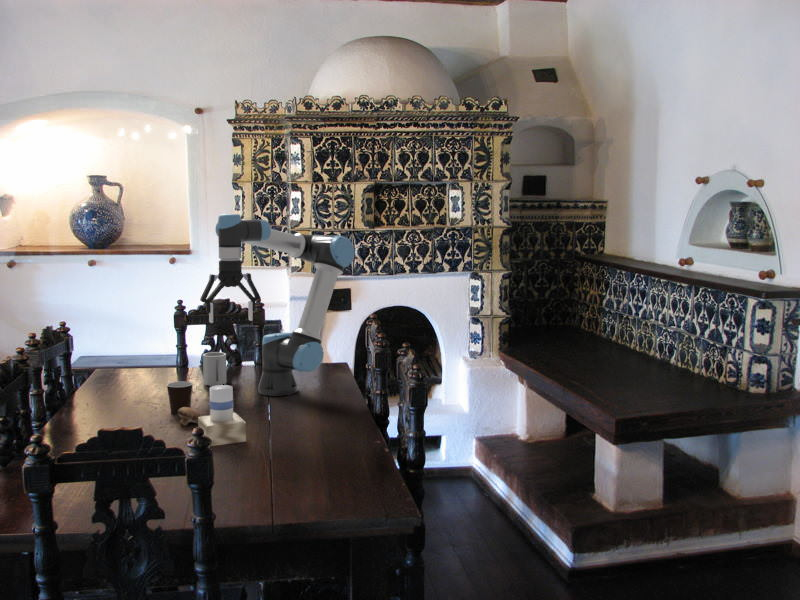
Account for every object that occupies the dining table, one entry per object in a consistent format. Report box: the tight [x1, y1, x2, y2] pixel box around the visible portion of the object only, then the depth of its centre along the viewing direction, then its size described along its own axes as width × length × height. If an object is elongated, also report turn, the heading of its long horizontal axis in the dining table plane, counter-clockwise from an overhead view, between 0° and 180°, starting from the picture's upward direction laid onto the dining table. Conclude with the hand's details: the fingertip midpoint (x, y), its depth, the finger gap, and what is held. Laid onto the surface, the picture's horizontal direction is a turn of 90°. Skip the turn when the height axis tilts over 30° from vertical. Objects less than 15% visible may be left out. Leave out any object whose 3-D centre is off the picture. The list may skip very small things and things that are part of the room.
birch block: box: [197, 412, 247, 447], centre depth 234 cm, size 12×12×6 cm
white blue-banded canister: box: [209, 384, 234, 422], centre depth 233 cm, size 7×7×10 cm
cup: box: [202, 351, 228, 387], centre depth 306 cm, size 9×9×12 cm
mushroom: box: [178, 406, 201, 426], centre depth 249 cm, size 8×8×6 cm
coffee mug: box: [166, 381, 194, 416], centre depth 265 cm, size 12×9×10 cm
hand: (231, 321), depth 258 cm, fingers open, 13 cm apart
